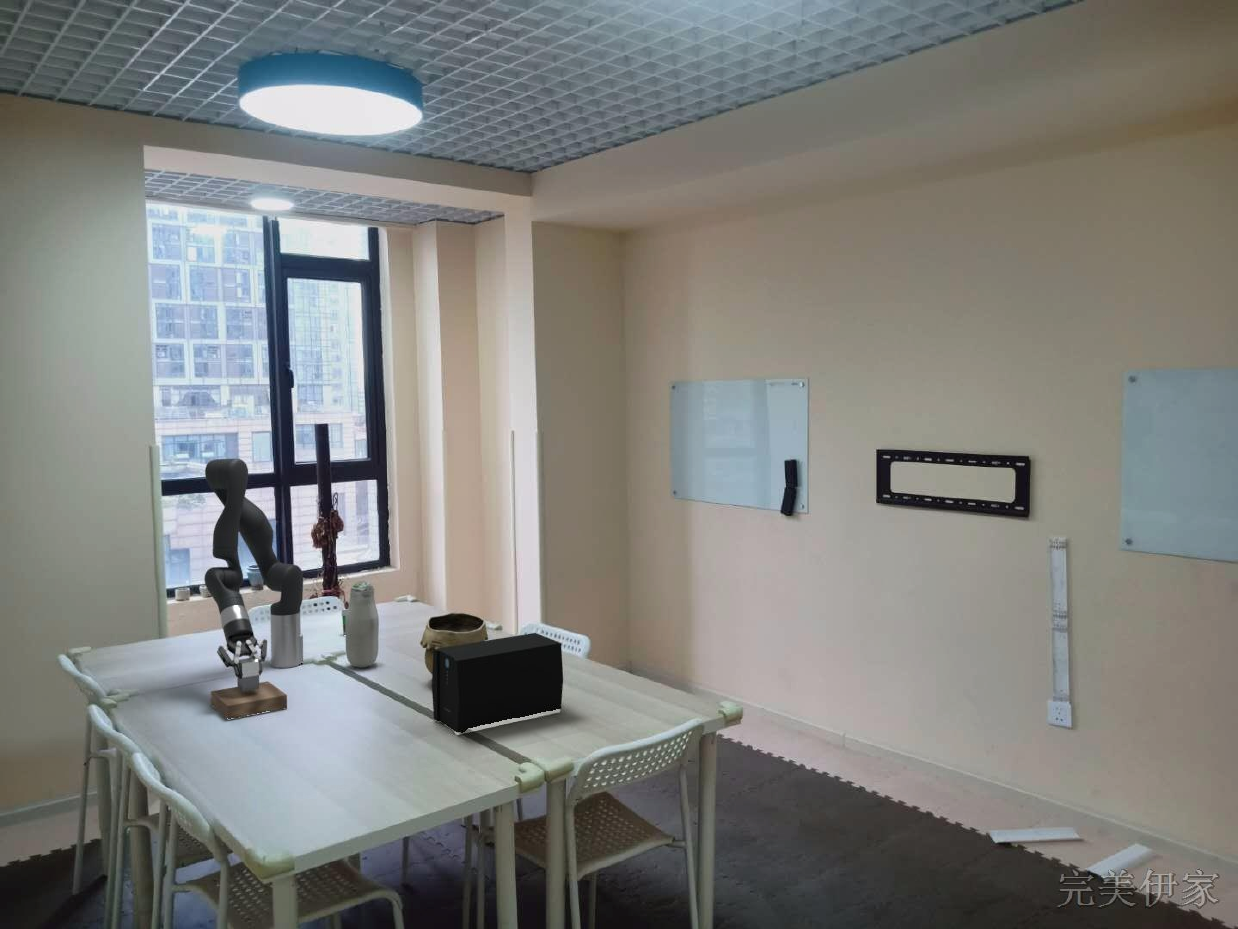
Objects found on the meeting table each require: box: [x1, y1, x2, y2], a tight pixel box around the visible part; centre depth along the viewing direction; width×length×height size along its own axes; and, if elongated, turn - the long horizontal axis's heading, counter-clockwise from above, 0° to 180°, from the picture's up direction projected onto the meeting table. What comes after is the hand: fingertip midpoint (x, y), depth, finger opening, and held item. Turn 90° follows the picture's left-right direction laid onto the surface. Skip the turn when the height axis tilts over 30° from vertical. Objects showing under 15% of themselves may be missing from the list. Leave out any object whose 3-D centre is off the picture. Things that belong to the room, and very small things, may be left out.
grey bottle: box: [345, 580, 380, 668], centre depth 309 cm, size 10×10×28 cm
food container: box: [341, 609, 348, 636], centre depth 352 cm, size 12×6×10 cm, turn 168°
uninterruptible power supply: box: [431, 632, 564, 733], centre depth 263 cm, size 16×34×20 cm, turn 126°
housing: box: [236, 657, 260, 692], centre depth 268 cm, size 5×5×8 cm
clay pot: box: [419, 612, 489, 675], centre depth 293 cm, size 21×21×20 cm
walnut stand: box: [210, 680, 288, 719], centre depth 269 cm, size 16×16×4 cm
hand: (250, 675), depth 267 cm, fingers closed on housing, 4 cm apart
